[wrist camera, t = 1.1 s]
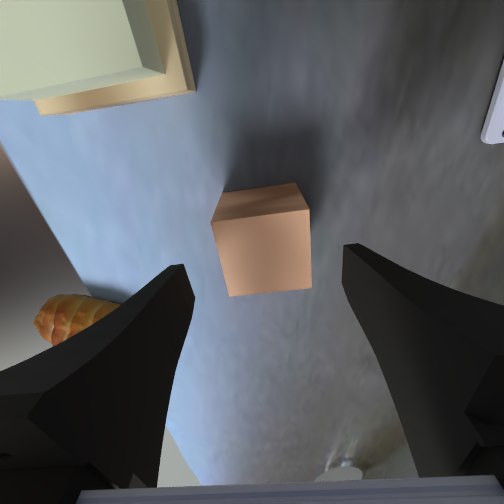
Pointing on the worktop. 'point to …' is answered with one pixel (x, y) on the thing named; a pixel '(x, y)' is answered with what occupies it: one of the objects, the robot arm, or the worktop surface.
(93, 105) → the oak slab
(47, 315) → the pastry
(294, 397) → the worktop surface
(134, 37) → the sage slab
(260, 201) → the terracotta cube
